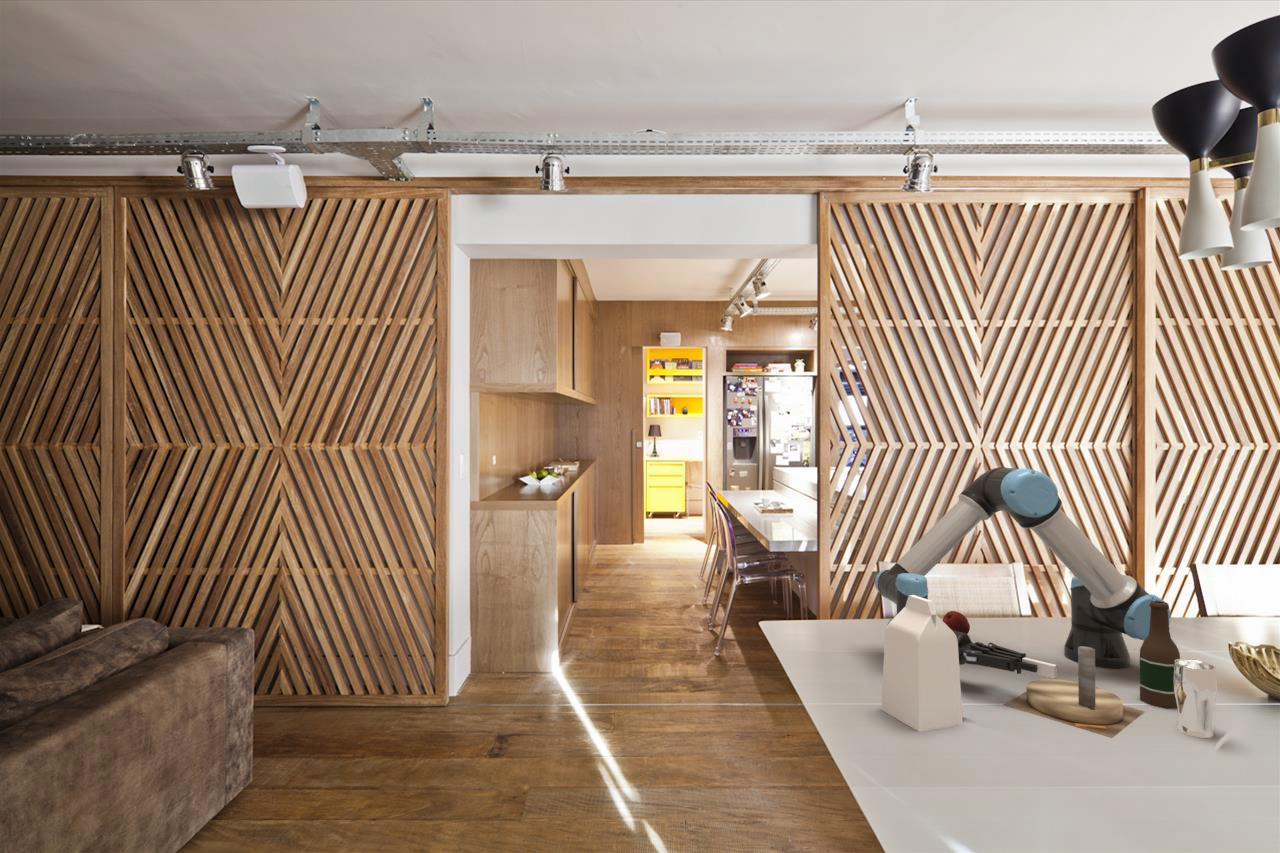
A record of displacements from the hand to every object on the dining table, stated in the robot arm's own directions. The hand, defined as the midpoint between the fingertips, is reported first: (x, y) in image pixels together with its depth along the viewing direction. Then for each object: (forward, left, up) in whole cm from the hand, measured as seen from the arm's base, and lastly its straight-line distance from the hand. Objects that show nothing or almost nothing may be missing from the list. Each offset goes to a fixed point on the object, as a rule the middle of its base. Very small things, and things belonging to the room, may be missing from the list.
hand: (1055, 671), depth 146 cm
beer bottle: (-26, +12, -10) cm, 30 cm away
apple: (-42, -43, -10) cm, 61 cm away
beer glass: (-13, +21, -10) cm, 27 cm away
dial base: (-6, +1, -10) cm, 12 cm away
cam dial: (-6, +1, -9) cm, 11 cm away
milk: (+22, -19, -10) cm, 31 cm away
